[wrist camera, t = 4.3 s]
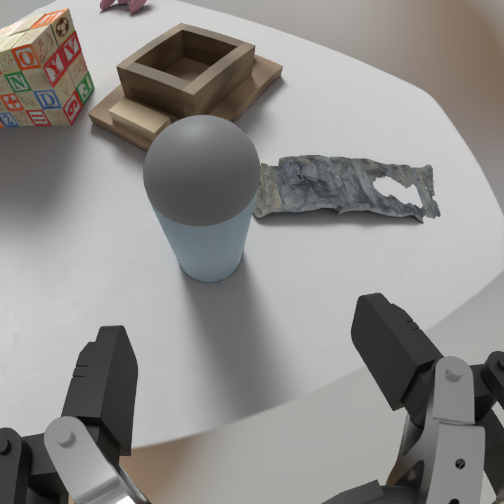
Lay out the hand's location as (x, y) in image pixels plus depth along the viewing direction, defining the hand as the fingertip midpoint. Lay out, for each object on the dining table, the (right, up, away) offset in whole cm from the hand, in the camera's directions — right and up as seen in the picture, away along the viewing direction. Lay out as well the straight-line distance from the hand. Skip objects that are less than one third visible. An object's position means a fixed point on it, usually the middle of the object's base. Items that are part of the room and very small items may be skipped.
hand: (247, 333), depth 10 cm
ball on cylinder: (-3, +3, +13) cm, 14 cm away
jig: (-6, +19, +18) cm, 27 cm away
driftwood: (+10, +8, +17) cm, 21 cm away
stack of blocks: (-29, +21, +16) cm, 39 cm away
